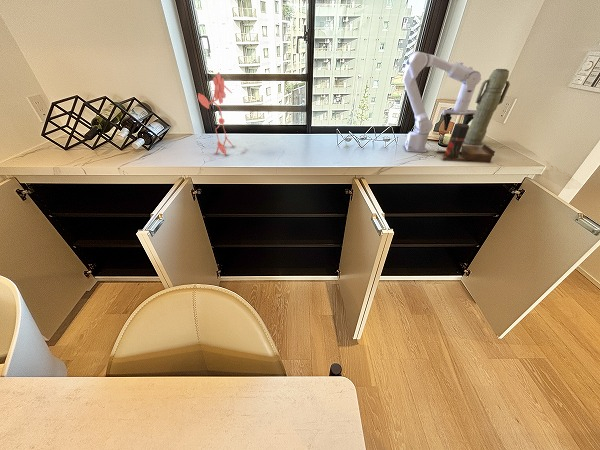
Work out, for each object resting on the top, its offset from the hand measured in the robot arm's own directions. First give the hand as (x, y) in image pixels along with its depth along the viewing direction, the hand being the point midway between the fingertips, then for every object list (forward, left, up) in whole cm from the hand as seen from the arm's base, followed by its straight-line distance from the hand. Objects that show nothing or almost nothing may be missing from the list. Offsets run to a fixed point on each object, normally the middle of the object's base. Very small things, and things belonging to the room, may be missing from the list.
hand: (453, 130), depth 126 cm
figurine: (-110, -16, -11) cm, 111 cm away
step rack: (+5, -8, -10) cm, 14 cm away
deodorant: (0, -8, -11) cm, 13 cm away
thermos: (+18, +15, -11) cm, 26 cm away
